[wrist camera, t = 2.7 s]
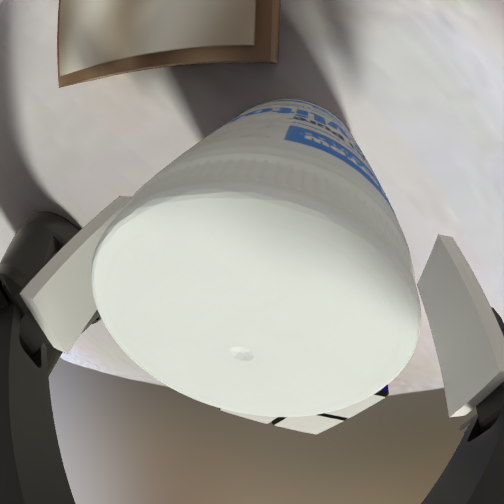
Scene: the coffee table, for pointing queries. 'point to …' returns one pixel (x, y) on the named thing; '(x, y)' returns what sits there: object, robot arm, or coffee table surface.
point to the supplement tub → (263, 269)
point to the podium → (161, 35)
